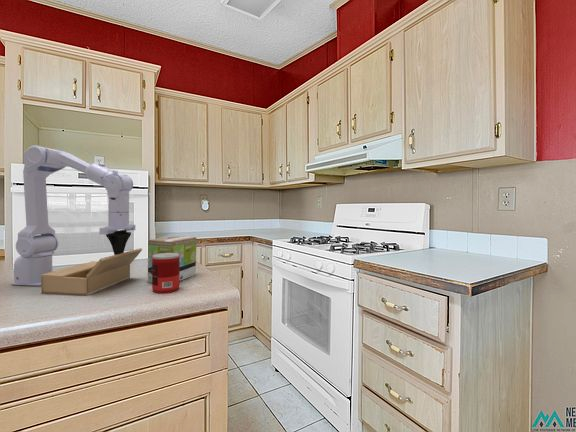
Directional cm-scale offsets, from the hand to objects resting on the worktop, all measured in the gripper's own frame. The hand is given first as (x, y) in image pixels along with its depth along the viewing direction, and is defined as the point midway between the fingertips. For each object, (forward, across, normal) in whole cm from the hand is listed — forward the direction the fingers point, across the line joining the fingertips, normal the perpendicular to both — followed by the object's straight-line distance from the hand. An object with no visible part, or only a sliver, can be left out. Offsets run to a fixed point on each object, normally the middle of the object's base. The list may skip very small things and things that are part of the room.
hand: (118, 254), depth 93 cm
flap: (+2, 0, +1) cm, 2 cm away
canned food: (+10, -1, -16) cm, 19 cm away
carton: (+10, 0, +10) cm, 14 cm away
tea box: (+10, +12, -12) cm, 20 cm away
